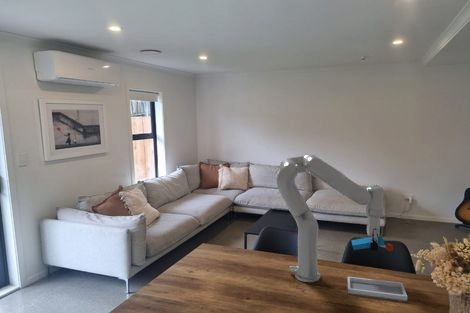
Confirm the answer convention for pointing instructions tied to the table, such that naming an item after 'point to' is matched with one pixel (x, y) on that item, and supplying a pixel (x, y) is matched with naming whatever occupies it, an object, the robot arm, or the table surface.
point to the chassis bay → (376, 289)
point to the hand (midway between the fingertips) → (373, 246)
